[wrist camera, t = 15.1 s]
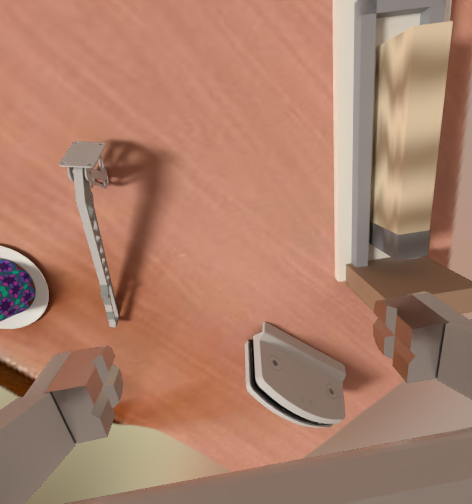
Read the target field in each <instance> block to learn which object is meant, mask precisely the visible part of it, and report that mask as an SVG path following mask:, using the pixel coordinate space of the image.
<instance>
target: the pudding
mask: <svg viewBox="0 0 472 504" xmlns="http://www.w3.org/2000/svg"><path fill="white" fill-rule="evenodd" d="M0 258H4V259H1V260H0V328H2V329H14V328H21V327H24V326H27V325H29V324H31V323H33V322H35V321H36V320H37V319H39V318H40V317H41V315H42V314H43V313H44V312H45V310H46V308H47V305H48V301H49V290H48V285H47V283H46V280H45V278H44V276H43V275H42V273H41V271H40V270H39V269H38V268H37V267H36V265H35V264H34V263H33V262H31V261H30V260H29V259H28V258H27V257H25V256H23V255H22V254H20V253H19V252H17V251H14V250H12V249H10V248H7V247H3V246H0ZM6 259H8V260H6ZM9 260H10V261H9ZM11 261H12V262H11ZM13 262H15V263H16V264H18V265H19V266H21V267H22V268H23V269H24V270H26V272H25V271H24V270H20V269H18V268H17V267H16V265H15V264H14V263H13ZM29 275H30V276H29ZM30 277H31V278H32V280H33V282H34V285H35V289H36V295H35V289H34V288H33V287H32V286H31V285H30V283H31V278H30ZM34 296H35V299H34ZM32 299H34V301H33V303H32V305H31V306H30V307H29V301H30V300H32ZM28 307H29V308H28ZM27 308H28V309H27ZM26 309H27V310H26ZM24 310H25V311H24ZM22 311H23V312H22ZM20 312H22V313H20ZM18 313H19V314H18Z"/></svg>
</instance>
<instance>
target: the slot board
mask: <svg viewBox="0 0 472 504" xmlns="http://www.w3.org/2000/svg"><path fill="white" fill-rule="evenodd" d="M451 5H452V0H333V102H334V209H335V278H336V279H337V281H338V282H340V281H346V285H347V286H348V287H349V288H350V289H351V290H352V291H353V292H354V293H355V294H356V295H357V296H358V297H359V298H360V299H361V300H362V301H363V302H364V303H365V304H366V305H367V306H368V307H369V308H370V309H371V310H372V311H373V312H374V305H375V302H376V301H378V300H383V299H389V298H394V297H400V296H405V295H408V294H413V293H418V292H423V291H425V292H429V293H431V294H432V295H434V296H435V297H437V298H438V299H440V300H441V301H443V302H444V303H445V304H447V305H448V306H450V307H451V308H453V309H454V310H456V311H457V312H459V313H460V314H462V313H469V312H472V281H471V280H469V279H467V278H465V277H463V276H461V275H459V274H457V273H455V272H453V271H451V270H450V269H448V268H446V267H444V266H442V265H440V264H438V263H436V262H434V261H432V260H430V259H428V258H427V257H425V256H423V257H416V258H410V259H404V260H395V259H394V258H392V257H390V256H389V255H387V254H386V253H384V252H382V251H381V250H379V249H377V248H376V247H374V246H373V245H371V244H369V231H370V214H371V186H372V158H373V130H374V102H375V74H376V47H378V46H379V45H381V44H383V43H385V42H386V41H388V40H390V39H392V38H393V37H395V36H397V35H399V34H400V33H402V32H404V31H406V30H407V29H409V28H411V27H413V26H416V25H424V24H432V23H440V22H448V21H450V14H451Z"/></svg>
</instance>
